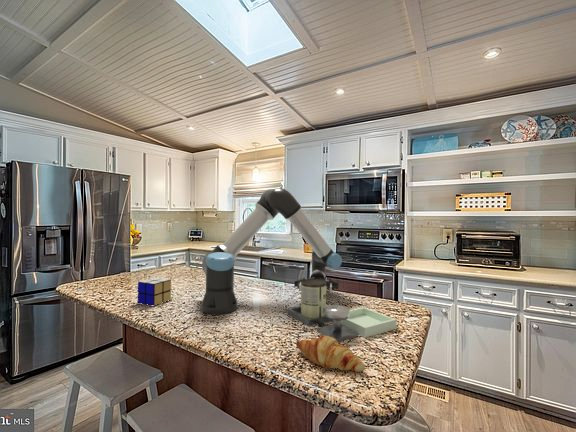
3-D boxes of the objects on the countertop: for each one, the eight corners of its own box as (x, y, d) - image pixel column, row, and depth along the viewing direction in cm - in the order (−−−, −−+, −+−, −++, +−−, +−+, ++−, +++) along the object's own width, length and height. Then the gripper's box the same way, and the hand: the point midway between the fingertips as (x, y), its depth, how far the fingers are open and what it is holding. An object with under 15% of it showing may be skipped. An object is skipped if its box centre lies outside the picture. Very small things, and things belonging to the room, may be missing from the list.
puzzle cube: (137, 303, 128) (137, 281, 128) (155, 298, 137) (155, 277, 137) (153, 306, 124) (154, 283, 124) (171, 300, 134) (171, 279, 134)
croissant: (368, 382, 76) (373, 350, 79) (356, 380, 69) (362, 345, 72) (300, 357, 88) (307, 330, 91) (284, 353, 81) (292, 324, 84)
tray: (364, 337, 95) (365, 327, 95) (333, 322, 109) (333, 313, 109) (396, 328, 104) (396, 319, 104) (363, 315, 117) (363, 307, 117)
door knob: (335, 342, 92) (335, 315, 92) (308, 326, 104) (308, 303, 104) (358, 336, 97) (358, 310, 97) (329, 321, 110) (330, 299, 110)
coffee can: (301, 311, 121) (301, 278, 121) (325, 312, 120) (326, 279, 120) (299, 320, 111) (300, 283, 111) (326, 321, 110) (327, 284, 110)
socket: (308, 325, 105) (308, 320, 105) (287, 313, 118) (287, 308, 118) (339, 318, 113) (340, 313, 113) (316, 308, 126) (317, 303, 126)
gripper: (342, 287, 144) (344, 299, 123) (293, 284, 148) (286, 296, 127) (342, 272, 144) (344, 281, 123) (293, 270, 148) (287, 279, 127)
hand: (315, 289), depth 125 cm, fingers open, 13 cm apart
